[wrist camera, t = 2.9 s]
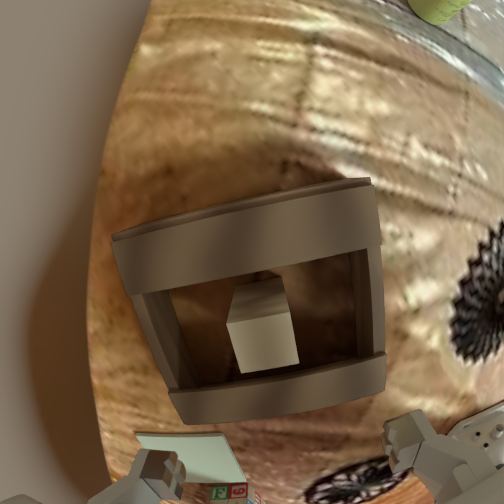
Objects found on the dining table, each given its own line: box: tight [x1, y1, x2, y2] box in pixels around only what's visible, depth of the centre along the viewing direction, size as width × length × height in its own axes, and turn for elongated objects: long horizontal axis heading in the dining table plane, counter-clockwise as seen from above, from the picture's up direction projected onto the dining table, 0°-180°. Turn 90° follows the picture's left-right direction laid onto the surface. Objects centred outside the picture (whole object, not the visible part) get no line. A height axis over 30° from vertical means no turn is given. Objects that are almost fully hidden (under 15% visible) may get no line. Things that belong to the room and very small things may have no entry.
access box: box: [111, 177, 387, 425], centre depth 22 cm, size 18×18×5 cm
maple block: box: [226, 277, 299, 373], centre depth 21 cm, size 4×4×7 cm
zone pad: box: [136, 433, 246, 483], centre depth 30 cm, size 12×12×1 cm
